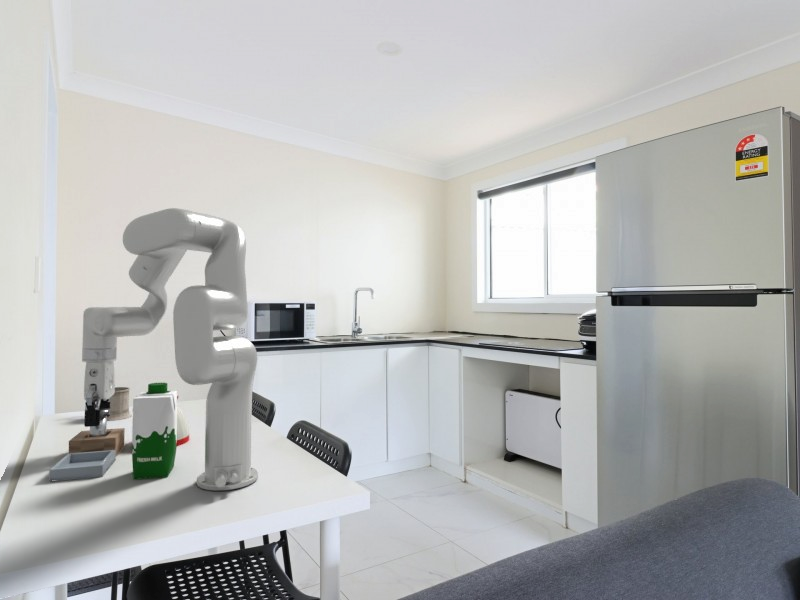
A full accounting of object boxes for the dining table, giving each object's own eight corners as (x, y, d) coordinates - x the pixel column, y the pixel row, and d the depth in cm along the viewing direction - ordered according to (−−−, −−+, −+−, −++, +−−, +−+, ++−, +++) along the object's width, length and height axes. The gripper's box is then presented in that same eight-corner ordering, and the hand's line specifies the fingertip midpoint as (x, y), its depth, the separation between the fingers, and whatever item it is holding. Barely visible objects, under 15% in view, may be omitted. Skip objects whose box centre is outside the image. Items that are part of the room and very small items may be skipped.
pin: (106, 455, 120) (107, 411, 120) (83, 457, 118) (84, 412, 119) (111, 450, 125) (112, 407, 125) (89, 451, 123) (90, 408, 123)
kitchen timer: (135, 439, 136) (136, 386, 136) (187, 433, 142) (188, 383, 142) (132, 452, 123) (134, 394, 124) (190, 445, 130) (191, 391, 130)
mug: (137, 416, 163) (138, 381, 163) (107, 422, 155) (108, 385, 155) (115, 411, 171) (116, 378, 171) (85, 416, 162) (86, 381, 163)
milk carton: (178, 465, 113) (180, 381, 114) (171, 478, 105) (172, 387, 105) (138, 468, 111) (139, 382, 111) (126, 481, 102) (128, 389, 103)
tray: (102, 476, 105) (102, 465, 105) (49, 481, 102) (49, 469, 102) (115, 460, 117) (115, 449, 117) (68, 464, 113) (68, 453, 113)
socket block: (115, 457, 118) (115, 437, 118) (68, 461, 115) (68, 441, 115) (124, 446, 128) (124, 428, 128) (81, 449, 125) (81, 430, 125)
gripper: (107, 358, 115) (105, 429, 115) (123, 351, 131) (121, 413, 131) (71, 359, 113) (69, 431, 112) (92, 351, 129) (90, 414, 129)
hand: (97, 421), depth 122 cm, fingers open, 9 cm apart
